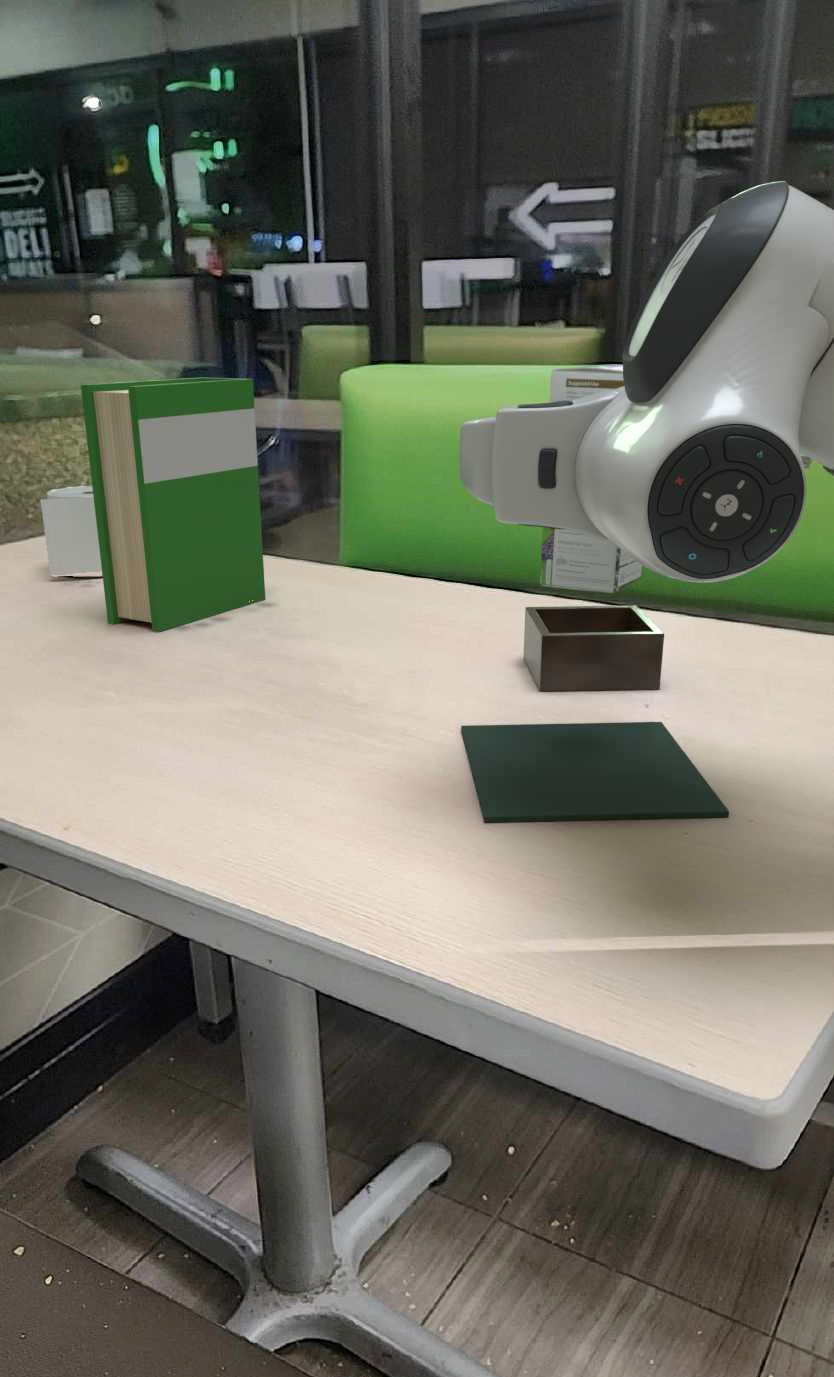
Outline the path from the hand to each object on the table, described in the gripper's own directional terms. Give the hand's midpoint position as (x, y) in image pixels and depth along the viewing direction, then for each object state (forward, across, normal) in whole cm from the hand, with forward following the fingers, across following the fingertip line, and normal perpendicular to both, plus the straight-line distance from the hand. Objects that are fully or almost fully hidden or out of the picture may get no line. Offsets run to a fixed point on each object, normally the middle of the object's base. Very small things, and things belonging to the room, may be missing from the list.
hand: (598, 443), depth 78 cm
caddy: (+19, -4, +22) cm, 29 cm away
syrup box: (-1, 0, +10) cm, 10 cm away
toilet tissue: (+68, +51, +22) cm, 88 cm away
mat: (-5, +1, +22) cm, 23 cm away
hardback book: (+46, +36, +22) cm, 62 cm away
